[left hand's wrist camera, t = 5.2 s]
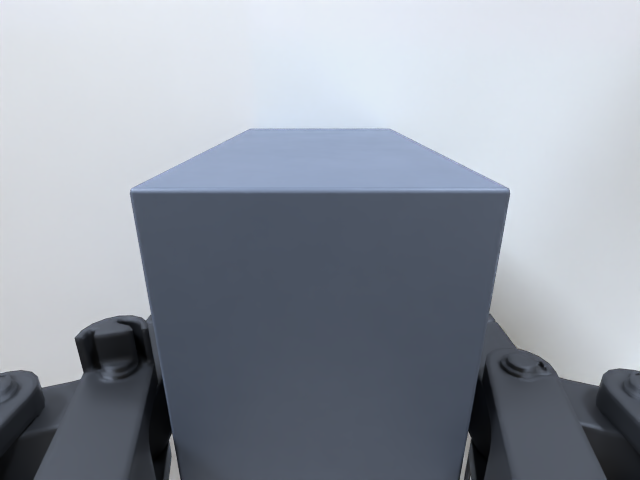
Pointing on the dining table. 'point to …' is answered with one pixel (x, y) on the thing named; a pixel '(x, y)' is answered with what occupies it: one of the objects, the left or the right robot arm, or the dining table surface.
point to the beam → (320, 304)
